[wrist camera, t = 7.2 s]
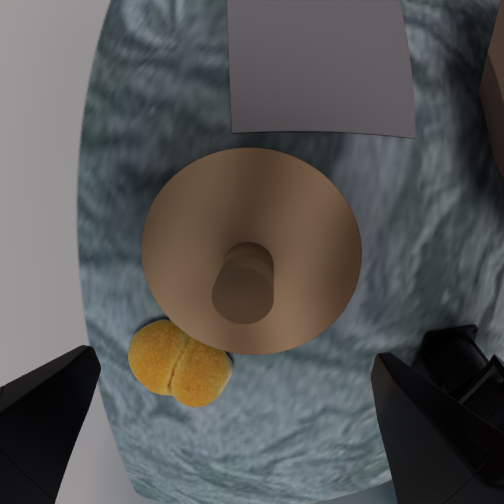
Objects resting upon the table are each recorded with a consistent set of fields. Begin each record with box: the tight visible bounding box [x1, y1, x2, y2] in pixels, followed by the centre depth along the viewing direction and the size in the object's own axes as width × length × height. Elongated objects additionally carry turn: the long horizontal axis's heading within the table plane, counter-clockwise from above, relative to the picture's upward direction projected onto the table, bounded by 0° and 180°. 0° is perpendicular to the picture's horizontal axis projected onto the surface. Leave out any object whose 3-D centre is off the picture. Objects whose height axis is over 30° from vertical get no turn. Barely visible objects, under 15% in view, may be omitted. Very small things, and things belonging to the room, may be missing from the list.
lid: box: [141, 148, 362, 355], centre depth 14 cm, size 12×12×4 cm
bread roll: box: [128, 319, 234, 407], centre depth 23 cm, size 8×9×4 cm
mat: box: [227, 0, 415, 138], centre depth 15 cm, size 12×12×1 cm
